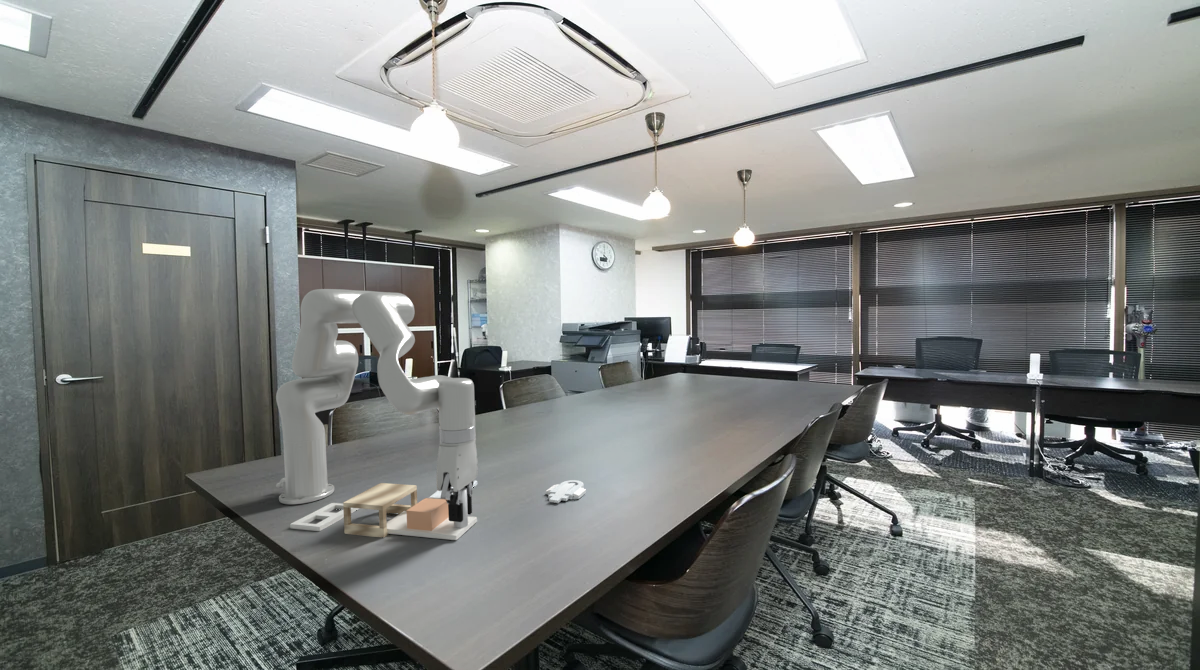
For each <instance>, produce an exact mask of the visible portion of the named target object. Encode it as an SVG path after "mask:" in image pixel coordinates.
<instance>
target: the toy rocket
mask: <svg viewBox="0 0 1200 670" xmlns="http://www.w3.org/2000/svg"><path fill="white" fill-rule="evenodd" d="M584 486H585V485H584V481H581V480H578V479H577V480H576V479H571V480H570V479H569V480H565V481H562V482H560V483H557V484H553V485H552V486H551V487H548V489H546V490H545V494H546V495H547V496H548V501H549V503H555V504H559V503H560V502H561V501H565V502H566V501H568V500H579V499H581V498H582V497H583V496H584V495H586V493H587V489H586V488H584Z"/></svg>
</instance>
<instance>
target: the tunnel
mask: <svg viewBox="0 0 1200 670" xmlns="http://www.w3.org/2000/svg"><path fill="white" fill-rule="evenodd" d="M409 495H410V504H399V503H398V504H397V502H399V501H401V500H402V499H404V498H405V497H407V496H409ZM417 503H418V487H417V484H416V485H415V484H399V483H386V482H380V483H378V484H376V485H374V486H372V487H370V488H367V489H366V490H365V491H363V492H361V493H359V494H357V495H355V496H353V497H351V498H349V499H347V500H346V501H343V502H342V504H343V510H344V518H343V526H344V527H343V530H344V535H345V534H346V535H354V536H363V537H364V536H365V537H373V538H374V537H375V538H382V537H383V538H382V539H384V538H386V537H387V536H388V533H387V522H388V521H387V514H389V513H398V514H397V515H399V514H400V513H402V512H403V511H406V510H408V509H410V508H411V507H413V506H414V505H416V504H417ZM351 508H359V509H363V510H364V509H365V510H373V511H378V521H379V522H378V523H379V525H376V524H375V525H374V524H365V523H364V524H363V523H353V522H352V513H351ZM385 536H386V537H385Z"/></svg>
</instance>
